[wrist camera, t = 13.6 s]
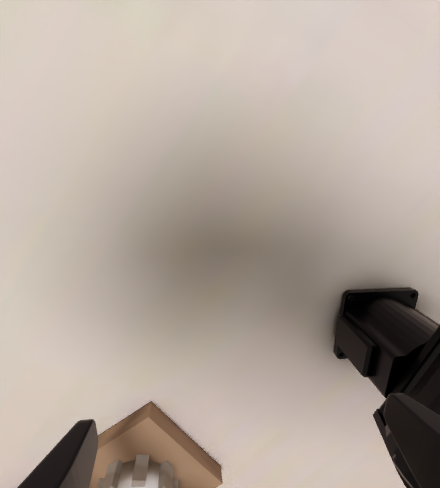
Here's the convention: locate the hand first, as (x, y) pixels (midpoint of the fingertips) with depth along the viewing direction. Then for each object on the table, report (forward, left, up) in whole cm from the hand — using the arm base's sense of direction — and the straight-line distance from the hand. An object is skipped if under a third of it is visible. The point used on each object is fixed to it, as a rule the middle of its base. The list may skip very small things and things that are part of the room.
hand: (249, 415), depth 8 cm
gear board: (+10, +23, -13) cm, 28 cm away
